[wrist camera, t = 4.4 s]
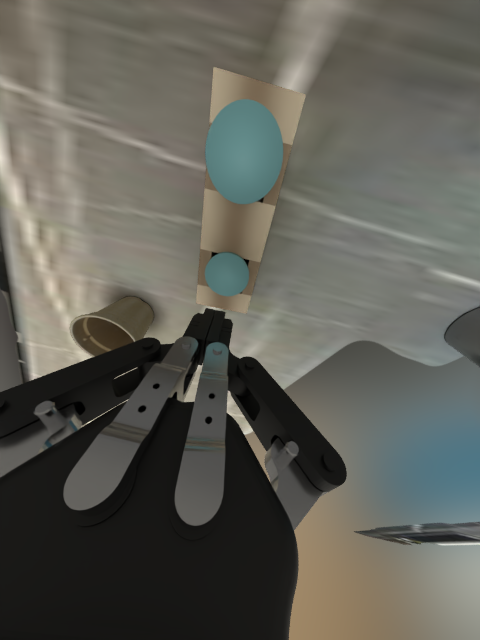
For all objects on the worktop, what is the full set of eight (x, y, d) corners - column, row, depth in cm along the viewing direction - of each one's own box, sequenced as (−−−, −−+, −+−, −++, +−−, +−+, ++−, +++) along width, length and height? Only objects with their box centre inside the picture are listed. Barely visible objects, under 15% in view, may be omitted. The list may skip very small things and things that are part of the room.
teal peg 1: (280, 141, 16) (295, 112, 11) (264, 207, 19) (269, 211, 14) (224, 125, 16) (209, 87, 10) (216, 195, 19) (202, 195, 13)
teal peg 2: (253, 246, 25) (253, 259, 20) (245, 280, 28) (243, 300, 23) (216, 237, 25) (206, 248, 19) (212, 273, 28) (202, 291, 22)
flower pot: (137, 337, 36) (110, 371, 29) (98, 300, 32) (54, 330, 25) (173, 321, 34) (152, 354, 26) (135, 278, 29) (98, 304, 22)
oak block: (291, 122, 18) (305, 94, 13) (247, 294, 30) (246, 313, 25) (224, 103, 18) (213, 67, 13) (205, 285, 29) (196, 303, 24)
